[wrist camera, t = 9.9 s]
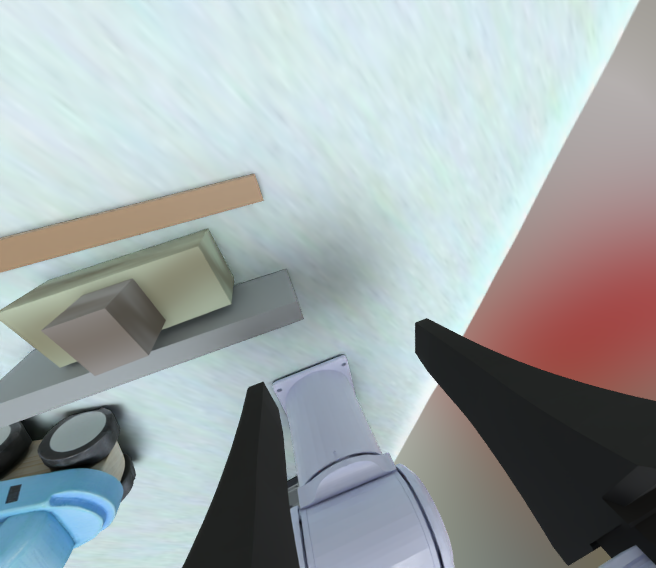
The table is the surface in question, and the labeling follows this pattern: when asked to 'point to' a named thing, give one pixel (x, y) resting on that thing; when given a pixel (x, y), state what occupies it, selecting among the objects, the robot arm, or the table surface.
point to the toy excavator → (59, 488)
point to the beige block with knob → (122, 303)
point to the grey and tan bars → (173, 342)
